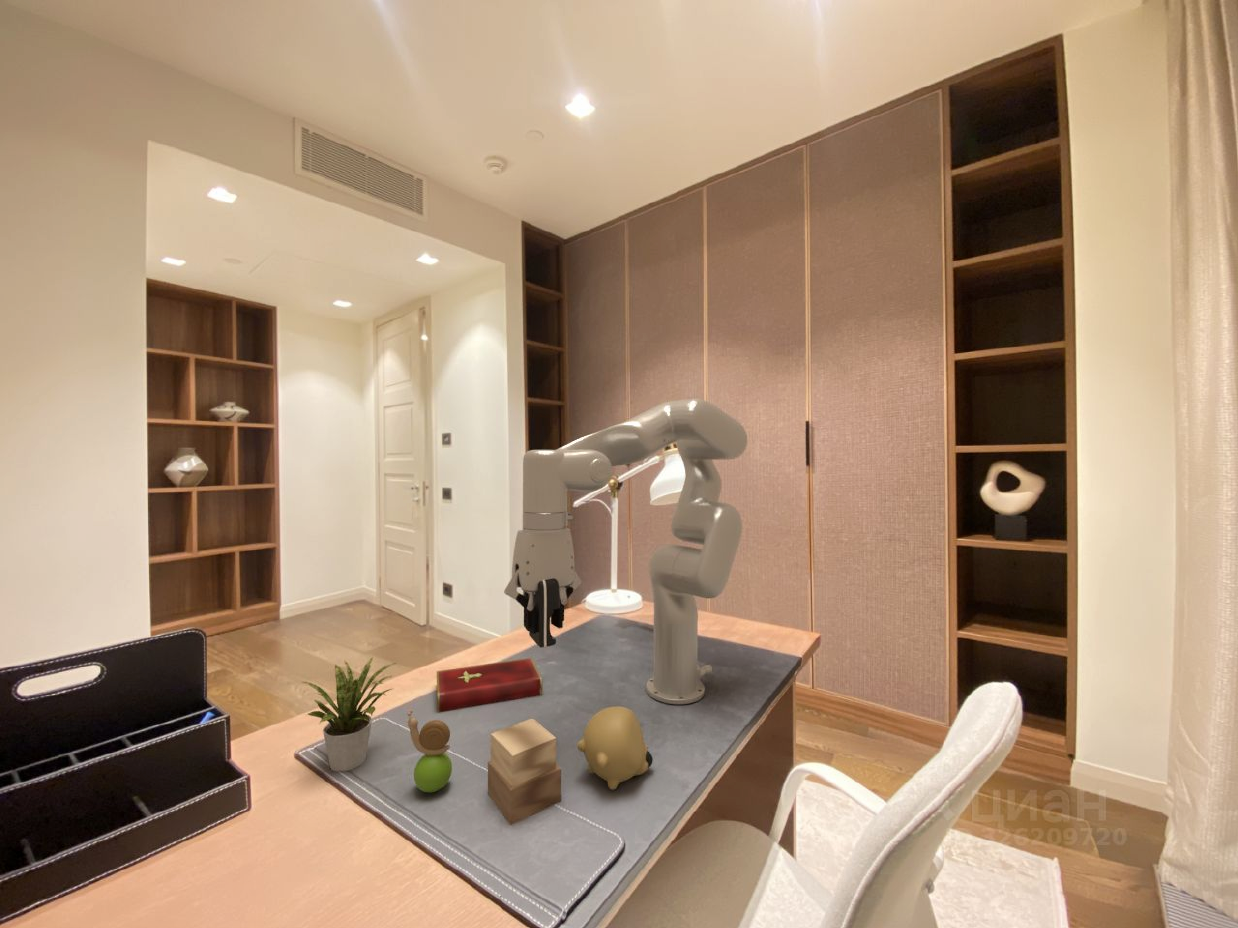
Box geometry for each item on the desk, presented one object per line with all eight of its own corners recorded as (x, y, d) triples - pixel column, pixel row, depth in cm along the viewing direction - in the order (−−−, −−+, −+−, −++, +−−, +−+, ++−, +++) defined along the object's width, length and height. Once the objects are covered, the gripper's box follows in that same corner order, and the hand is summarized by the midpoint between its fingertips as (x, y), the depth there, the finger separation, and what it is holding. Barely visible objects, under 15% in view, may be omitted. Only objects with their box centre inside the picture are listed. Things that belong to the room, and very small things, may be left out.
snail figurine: (413, 778, 77) (414, 702, 77) (455, 776, 78) (455, 700, 78) (401, 802, 72) (401, 720, 72) (446, 799, 72) (446, 718, 72)
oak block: (532, 746, 78) (532, 718, 78) (555, 768, 72) (556, 737, 72) (490, 763, 73) (490, 733, 73) (512, 787, 68) (512, 755, 68)
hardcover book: (542, 697, 105) (542, 677, 105) (437, 715, 97) (437, 694, 97) (531, 674, 116) (531, 656, 116) (436, 688, 108) (436, 669, 108)
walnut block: (535, 774, 79) (535, 743, 79) (561, 802, 72) (561, 768, 72) (487, 794, 74) (487, 761, 74) (510, 826, 68) (510, 790, 67)
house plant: (421, 746, 86) (421, 653, 86) (354, 798, 73) (354, 688, 73) (358, 731, 90) (358, 643, 90) (285, 777, 77) (285, 674, 77)
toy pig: (636, 813, 75) (674, 748, 80) (596, 777, 69) (639, 710, 74) (597, 778, 82) (634, 721, 87) (558, 744, 77) (599, 684, 82)
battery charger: (562, 646, 82) (562, 577, 82) (540, 650, 80) (540, 580, 80) (549, 632, 88) (548, 569, 88) (528, 636, 87) (528, 571, 87)
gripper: (576, 517, 92) (575, 614, 92) (489, 522, 82) (488, 631, 82) (598, 521, 86) (597, 625, 86) (506, 527, 76) (505, 645, 76)
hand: (544, 627), depth 84 cm, fingers closed on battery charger, 4 cm apart
